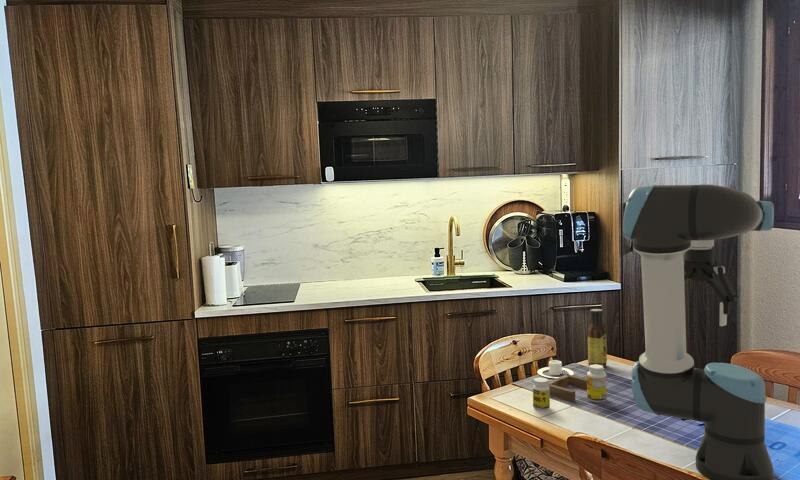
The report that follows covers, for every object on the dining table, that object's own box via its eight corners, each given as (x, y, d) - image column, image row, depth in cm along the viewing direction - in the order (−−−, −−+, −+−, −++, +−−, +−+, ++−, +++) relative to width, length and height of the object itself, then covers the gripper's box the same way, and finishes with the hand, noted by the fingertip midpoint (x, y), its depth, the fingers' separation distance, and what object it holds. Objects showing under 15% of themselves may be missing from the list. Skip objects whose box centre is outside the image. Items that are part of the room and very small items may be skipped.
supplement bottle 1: (531, 409, 176) (530, 381, 175) (535, 403, 180) (534, 376, 179) (547, 411, 174) (547, 383, 173) (551, 405, 178) (551, 378, 177)
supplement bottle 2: (587, 395, 185) (587, 362, 184) (606, 397, 183) (606, 364, 182) (586, 402, 179) (586, 368, 178) (606, 403, 178) (606, 369, 176)
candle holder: (573, 381, 199) (573, 368, 198) (535, 379, 202) (535, 366, 202) (574, 370, 210) (574, 357, 210) (538, 368, 214) (538, 356, 213)
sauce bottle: (608, 369, 208) (607, 312, 206) (589, 368, 209) (588, 312, 207) (605, 363, 215) (604, 307, 213) (586, 363, 216) (586, 308, 214)
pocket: (572, 402, 180) (572, 392, 180) (543, 393, 188) (542, 384, 188) (596, 390, 188) (596, 381, 188) (567, 383, 196) (567, 374, 196)
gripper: (752, 249, 165) (750, 326, 167) (663, 243, 184) (663, 312, 186) (740, 252, 160) (738, 331, 162) (650, 246, 179) (650, 317, 182)
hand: (698, 321), depth 174 cm, fingers open, 13 cm apart
